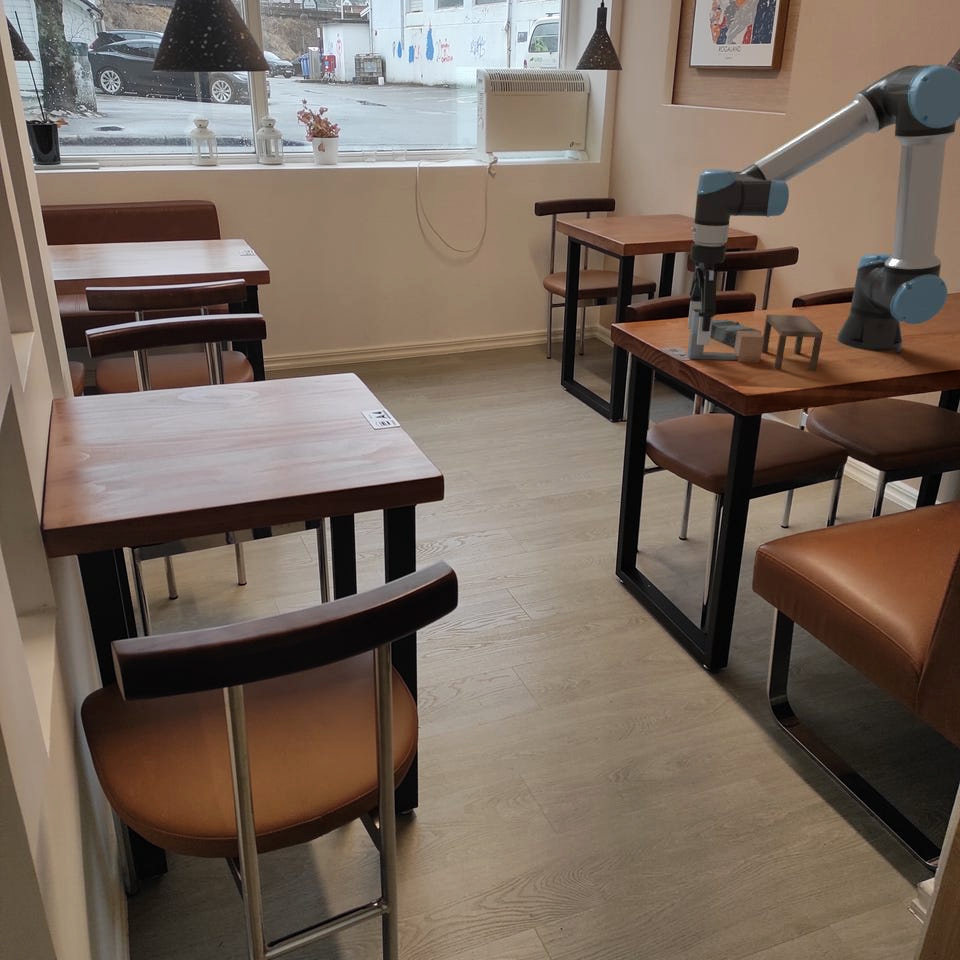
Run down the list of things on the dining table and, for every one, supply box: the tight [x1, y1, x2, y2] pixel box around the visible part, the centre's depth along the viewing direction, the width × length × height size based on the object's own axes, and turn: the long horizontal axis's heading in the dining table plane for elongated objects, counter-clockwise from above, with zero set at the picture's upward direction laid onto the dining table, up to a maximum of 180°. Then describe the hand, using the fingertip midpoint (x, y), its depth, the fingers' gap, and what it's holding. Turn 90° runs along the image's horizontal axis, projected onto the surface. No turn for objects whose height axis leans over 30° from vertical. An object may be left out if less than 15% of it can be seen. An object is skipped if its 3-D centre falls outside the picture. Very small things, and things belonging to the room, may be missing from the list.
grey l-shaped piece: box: [687, 309, 764, 364], centre depth 209 cm, size 16×5×11 cm, turn 87°
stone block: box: [710, 319, 762, 349], centre depth 226 cm, size 9×14×5 cm, turn 22°
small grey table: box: [761, 314, 824, 372], centre depth 209 cm, size 9×15×10 cm, turn 177°
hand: (698, 336), depth 209 cm, fingers open, 13 cm apart
